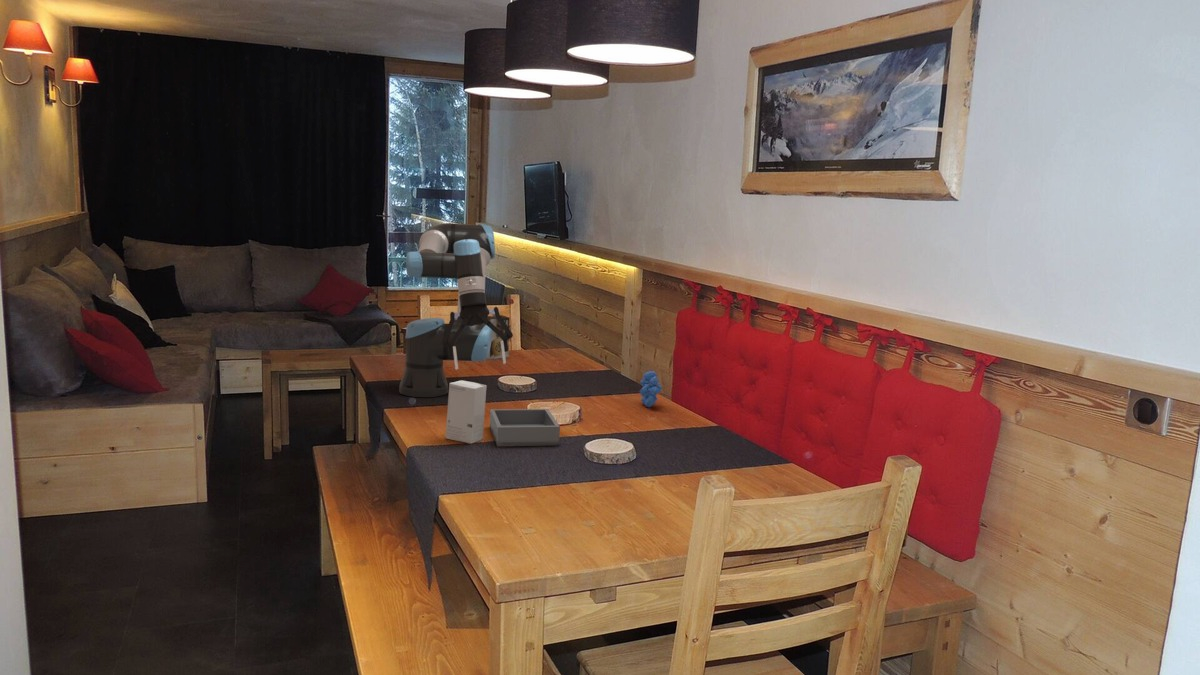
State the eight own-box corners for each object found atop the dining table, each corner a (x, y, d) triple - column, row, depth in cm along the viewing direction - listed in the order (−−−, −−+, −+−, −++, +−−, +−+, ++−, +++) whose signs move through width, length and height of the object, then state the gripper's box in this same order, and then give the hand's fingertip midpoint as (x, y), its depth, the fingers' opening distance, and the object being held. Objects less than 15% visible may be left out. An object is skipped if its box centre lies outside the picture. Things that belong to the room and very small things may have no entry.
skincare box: (445, 439, 216) (446, 383, 214) (458, 433, 222) (459, 379, 219) (472, 444, 213) (474, 387, 211) (485, 439, 218) (487, 383, 216)
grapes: (668, 411, 257) (670, 373, 255) (647, 412, 255) (650, 373, 253) (654, 402, 268) (656, 365, 266) (634, 403, 266) (636, 366, 264)
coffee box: (500, 354, 333) (501, 314, 330) (509, 357, 328) (510, 317, 325) (480, 356, 327) (481, 315, 324) (489, 359, 322) (490, 318, 320)
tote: (489, 426, 230) (490, 409, 229) (547, 426, 234) (547, 408, 233) (497, 446, 212) (497, 427, 212) (559, 445, 216) (559, 426, 215)
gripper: (427, 296, 235) (435, 371, 234) (515, 286, 239) (524, 360, 237) (429, 300, 243) (437, 372, 241) (514, 290, 246) (523, 362, 245)
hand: (480, 366), depth 239 cm, fingers open, 13 cm apart
